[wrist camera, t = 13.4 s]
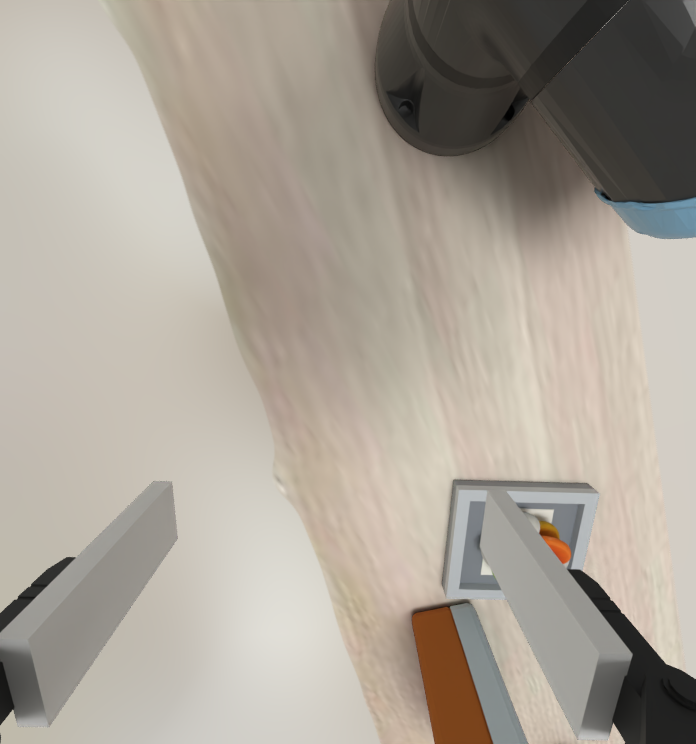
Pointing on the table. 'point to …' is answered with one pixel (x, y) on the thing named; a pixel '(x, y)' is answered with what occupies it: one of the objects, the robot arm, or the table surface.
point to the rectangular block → (463, 680)
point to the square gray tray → (542, 499)
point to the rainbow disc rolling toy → (548, 539)
